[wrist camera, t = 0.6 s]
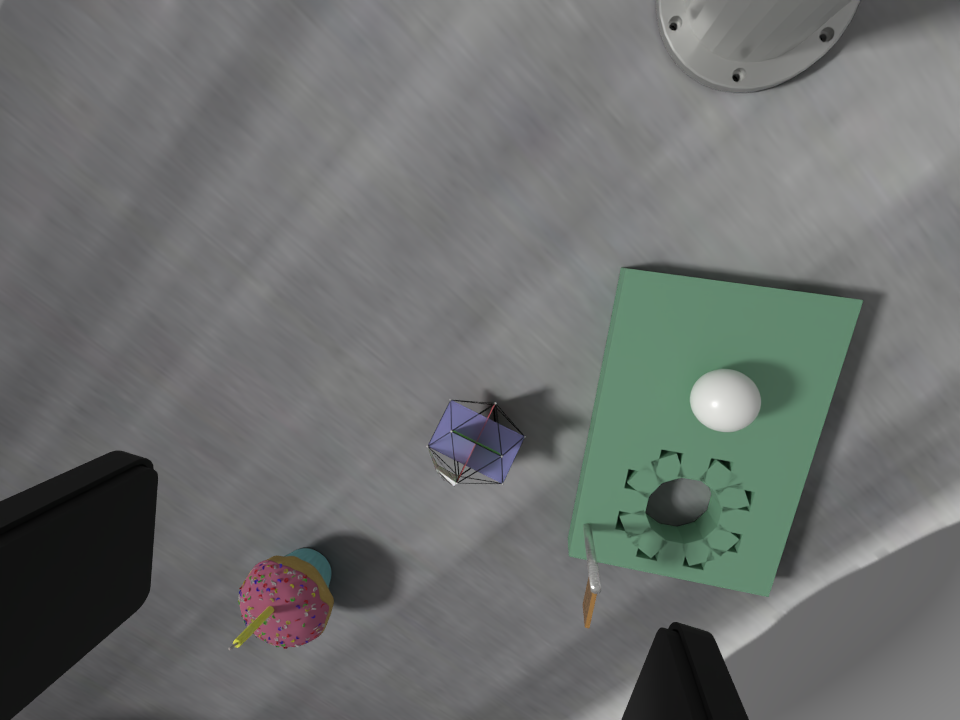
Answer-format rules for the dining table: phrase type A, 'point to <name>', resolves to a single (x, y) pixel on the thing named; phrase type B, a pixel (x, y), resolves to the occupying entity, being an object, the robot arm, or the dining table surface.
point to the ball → (725, 400)
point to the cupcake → (287, 599)
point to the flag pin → (590, 576)
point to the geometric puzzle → (474, 443)
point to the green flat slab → (691, 445)
